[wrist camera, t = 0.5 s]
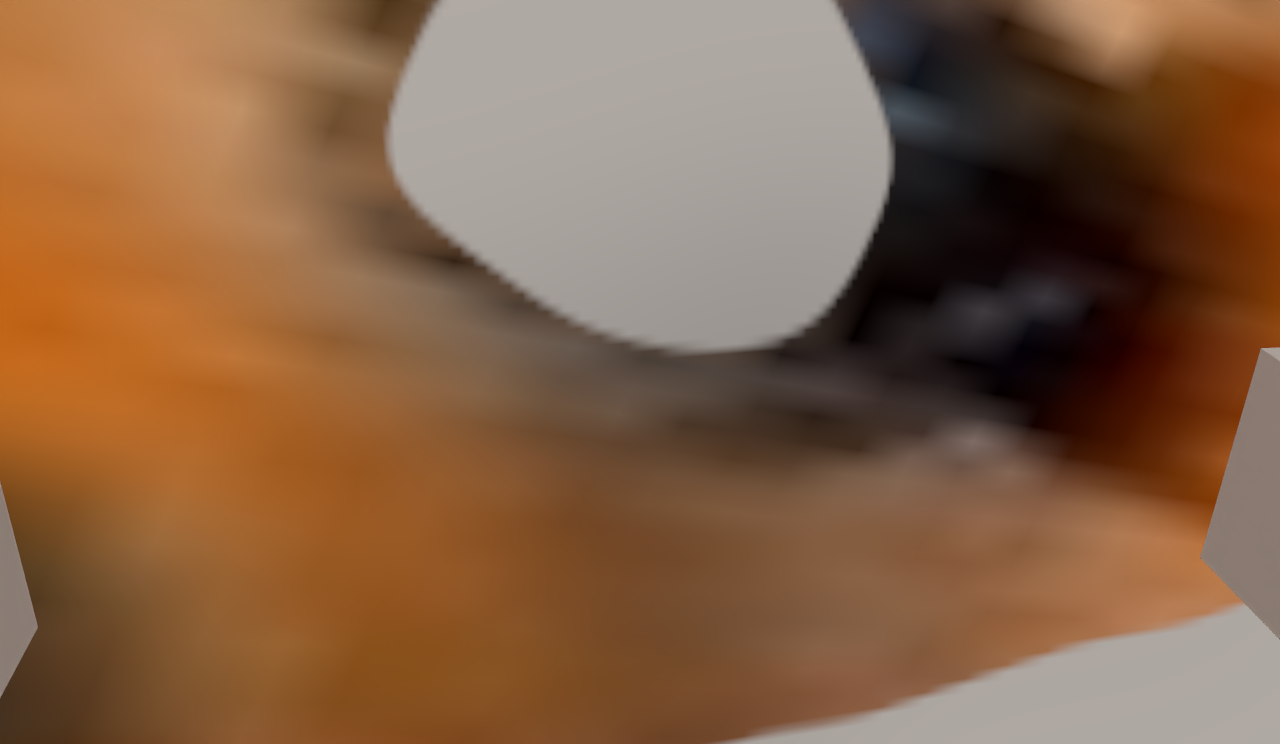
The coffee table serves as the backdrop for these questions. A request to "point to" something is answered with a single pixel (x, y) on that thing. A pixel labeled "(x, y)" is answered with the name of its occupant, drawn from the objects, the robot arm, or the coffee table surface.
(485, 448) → the coffee table surface
